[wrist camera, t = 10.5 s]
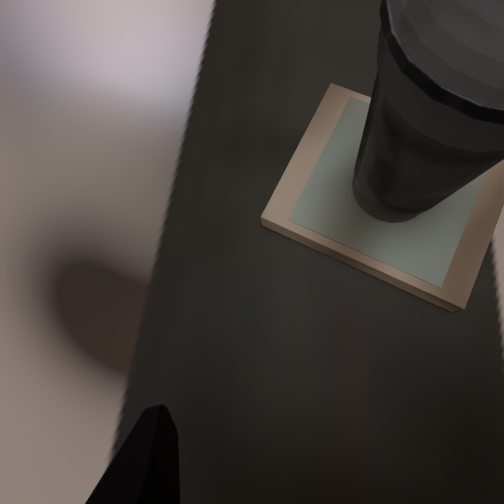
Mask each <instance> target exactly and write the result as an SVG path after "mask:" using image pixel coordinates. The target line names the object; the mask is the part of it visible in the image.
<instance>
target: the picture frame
mask: <svg viewBox="0 0 504 504" xmlns="http://www.w3.org/2000/svg"><path fill="white" fill-rule="evenodd" d="M370 101H371V98H370V97H367V96H365V95H362V94H359V93H357V92H354V91H351V90H349V89H346V88H343V87H340V86H338V85H335V84H332V83H331V84H330V86H329V88H328V90H327V92H326V94H325V96H324V98H323V99H322V101H321V103H320V105H319V107H318V109H317V111H316V113H315V115H314V117H313V119H312V120H311V122H310V124H309V126H308V128H307V130H306V132H305V134H304V136H303V138H302V140H301V142H300V143H299V145H298V147H297V149H296V151H295V153H294V155H293V157H292V159H291V161H290V163H289V164H288V166H287V168H286V170H285V172H284V174H283V176H282V178H281V180H280V182H279V184H278V185H277V187H276V189H275V191H274V193H273V195H272V197H271V199H270V201H269V203H268V205H267V206H266V208H265V210H264V212H263V214H262V216H261V221H262V226H265V227H267V228H269V229H271V230H273V231H275V232H278V233H280V234H282V235H284V236H286V237H289V238H291V239H293V240H295V241H297V242H300V243H302V244H304V245H306V246H308V247H310V248H313V249H315V250H317V251H319V252H321V253H324V254H326V255H328V256H330V257H332V258H334V259H337V260H339V261H341V262H343V263H345V264H348V265H350V266H352V267H354V268H356V269H359V270H361V271H363V272H365V273H367V274H369V275H372V276H374V277H376V278H378V279H380V280H383V281H385V282H387V283H389V284H391V285H394V286H396V287H398V288H400V289H402V290H404V291H407V292H409V293H411V294H413V295H415V296H418V297H420V298H422V299H424V300H426V301H429V302H431V303H433V304H435V305H437V306H439V307H442V308H444V309H446V310H448V311H450V312H455V311H459V310H463V309H465V307H466V304H467V301H468V299H469V296H470V293H471V291H472V288H473V285H474V283H475V280H476V277H477V274H478V272H479V269H480V266H481V264H482V261H483V258H484V256H485V253H486V250H487V248H488V245H489V242H490V240H491V237H492V234H493V232H494V229H495V226H496V224H497V221H498V218H499V215H500V213H501V210H502V207H503V204H504V160H502V161H501V162H499V163H498V164H496V165H495V166H493V167H492V168H490V169H489V170H487V171H486V172H484V173H483V174H481V175H480V176H478V177H477V178H475V179H474V180H473V181H471V182H470V183H468V184H467V185H465V186H464V187H462V188H461V189H459V190H458V191H456V192H455V193H453V194H452V195H450V196H449V197H447V198H446V199H444V200H443V201H441V202H440V203H438V204H437V205H436V206H434V207H433V208H431V209H430V210H428V211H426V212H423V213H421V214H419V215H418V216H417V217H415V218H413V219H411V220H408V221H405V222H398V223H389V222H385V221H380V220H377V219H375V218H374V217H372V216H370V215H368V214H367V213H366V212H365V211H364V210H363V209H362V208H361V207H360V206H359V205H358V203H357V201H356V199H355V197H354V194H353V187H352V181H353V177H354V168H355V163H356V159H357V155H358V151H359V147H360V142H361V138H362V134H363V130H364V126H365V122H366V117H367V113H368V109H369V105H370Z"/></svg>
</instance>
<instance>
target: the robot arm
mask: <svg viewBox="0 0 504 504" xmlns="http://www.w3.org/2000/svg"><path fill="white" fill-rule="evenodd" d="M85 504H180V484H179V451H178V433H177V429H176V426H175V424H174V422H173V420H172V418H171V415H170V413H169V411H168V409H167V407H166V406H165V405H163V404H161V405H156V406H152V407H148V408H146V409H145V410H144V411H143V412H142V414H141V415H140V417H139V418H138V420H137V422H136V423H135V425H134V426H133V428H132V430H131V431H130V433H129V434H128V436H127V438H126V439H125V441H124V442H123V444H122V446H121V447H120V449H119V450H118V452H117V454H116V455H115V457H114V458H113V460H112V462H111V463H110V465H109V466H108V468H107V470H106V471H105V473H104V474H103V476H102V477H101V479H100V481H99V482H98V484H97V486H96V487H95V489H94V490H93V492H92V494H91V495H90V497H89V498H88V500H87V501H86V503H85Z"/></svg>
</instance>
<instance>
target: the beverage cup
mask: <svg viewBox="0 0 504 504" xmlns="http://www.w3.org/2000/svg"><path fill="white" fill-rule="evenodd" d="M379 12H380V18H381V28H380V32H379V41H378V53H377V65H378V72H377V76H376V80H375V84H374V88H373V92H372V97H371V101H370V105H369V109H368V113H367V117H366V122H365V126H364V130H363V134H362V138H361V142H360V147H359V151H358V155H357V159H356V163H355V168H354V177H353V181H352V187H353V194H354V197H355V199H356V201H357V203H358V205H359V206H360V207H361V208H362V209H363V210H364V211H365V212H366V213H367V214H368V215H370V216H372V217H374V218H375V219H377V220H380V221H385V222H389V223H398V222H405V221H408V220H411V219H413V218H415V217H417V216H418V215H419V214H421V213H423V212H426V211H428V210H430V209H431V208H433V207H434V206H436V205H437V204H438V203H440V202H441V201H443V200H444V199H446V198H447V197H449V196H450V195H452V194H453V193H455V192H456V191H458V190H459V189H461V188H462V187H464V186H465V185H467V184H468V183H470V182H471V181H473V180H474V179H475V178H477V177H478V176H480V175H481V174H483V173H484V172H486V171H487V170H489V169H490V168H492V167H493V166H495V165H496V164H498V163H499V162H501V161H502V160H504V0H382V2H381V6H380V10H379Z"/></svg>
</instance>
